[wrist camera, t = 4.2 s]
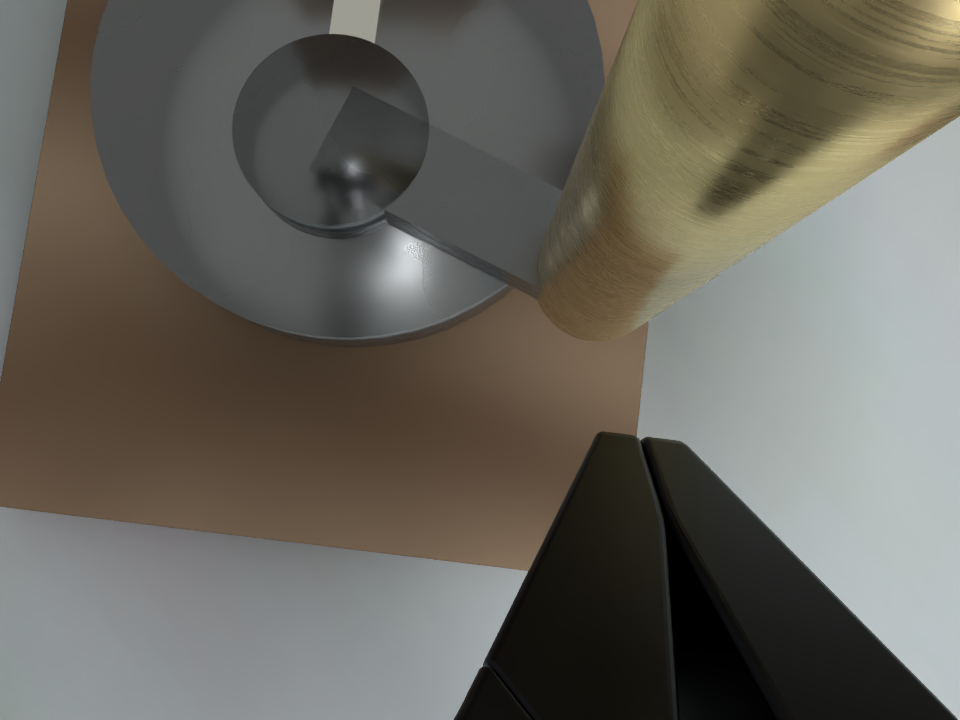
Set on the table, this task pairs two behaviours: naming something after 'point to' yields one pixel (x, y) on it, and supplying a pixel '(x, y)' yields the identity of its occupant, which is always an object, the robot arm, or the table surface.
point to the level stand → (280, 388)
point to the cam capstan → (495, 147)
